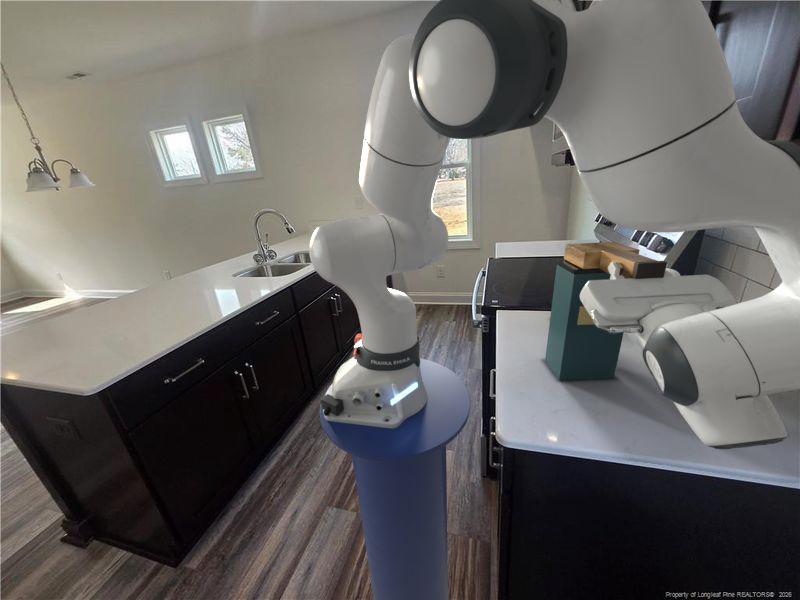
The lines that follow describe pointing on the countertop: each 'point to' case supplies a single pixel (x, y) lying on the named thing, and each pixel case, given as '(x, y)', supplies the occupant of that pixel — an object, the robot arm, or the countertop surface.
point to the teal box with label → (578, 329)
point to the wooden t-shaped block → (614, 259)
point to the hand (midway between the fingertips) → (629, 263)
